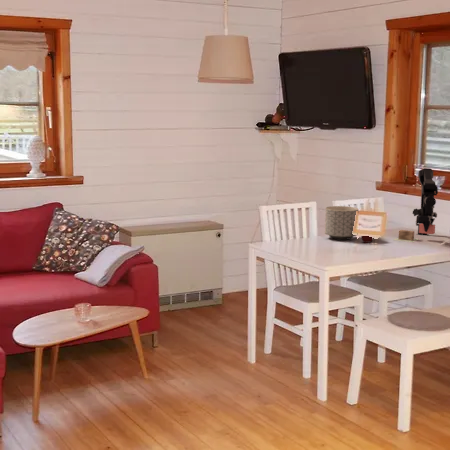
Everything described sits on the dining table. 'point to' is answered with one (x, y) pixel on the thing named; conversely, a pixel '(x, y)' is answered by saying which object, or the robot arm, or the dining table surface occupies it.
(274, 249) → the dining table surface
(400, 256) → the dining table surface
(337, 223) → the planter
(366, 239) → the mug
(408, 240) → the plate
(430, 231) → the brick red
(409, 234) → the brick walnut
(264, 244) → the dining table surface
